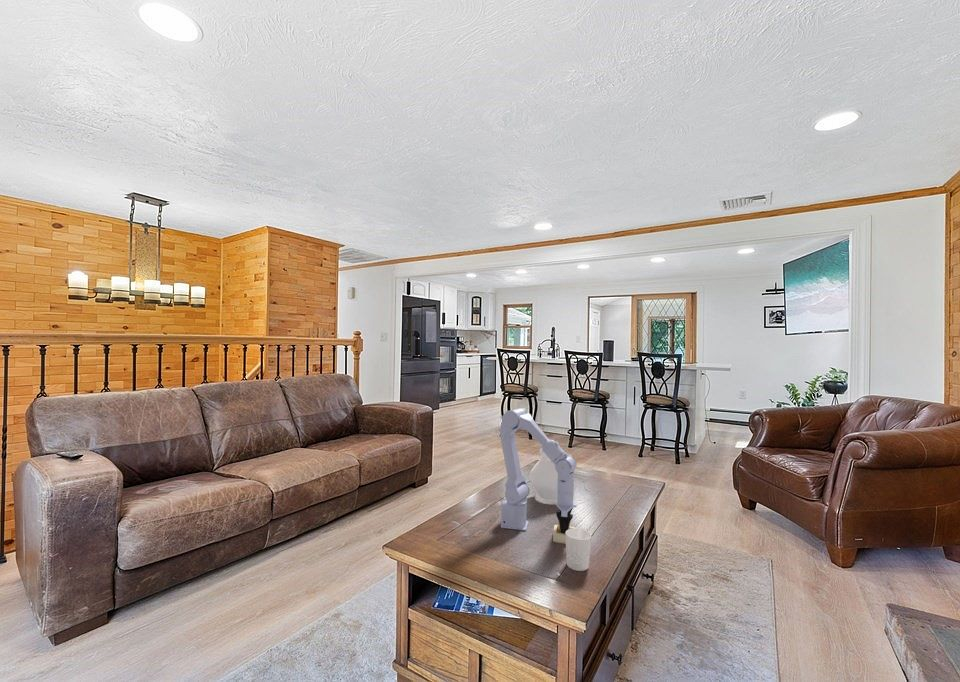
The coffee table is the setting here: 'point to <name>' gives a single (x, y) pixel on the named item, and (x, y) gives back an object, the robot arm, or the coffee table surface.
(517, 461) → the robot arm
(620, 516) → the coffee table surface
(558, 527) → the brown cylinder
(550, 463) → the decorative vase
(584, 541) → the white cup
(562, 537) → the cream square tray
